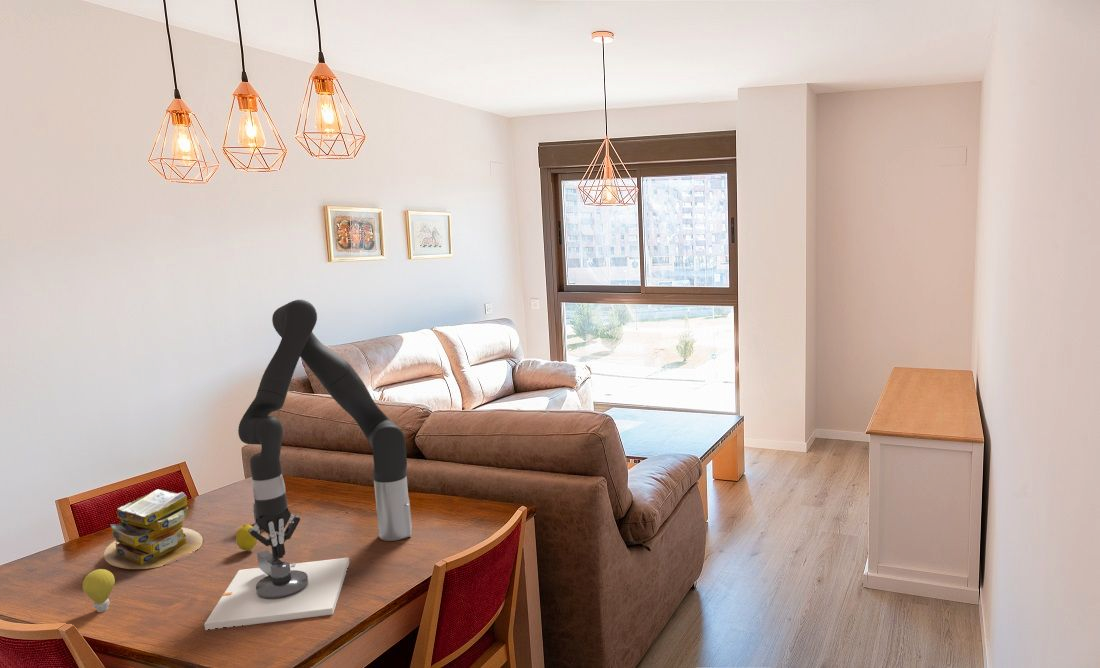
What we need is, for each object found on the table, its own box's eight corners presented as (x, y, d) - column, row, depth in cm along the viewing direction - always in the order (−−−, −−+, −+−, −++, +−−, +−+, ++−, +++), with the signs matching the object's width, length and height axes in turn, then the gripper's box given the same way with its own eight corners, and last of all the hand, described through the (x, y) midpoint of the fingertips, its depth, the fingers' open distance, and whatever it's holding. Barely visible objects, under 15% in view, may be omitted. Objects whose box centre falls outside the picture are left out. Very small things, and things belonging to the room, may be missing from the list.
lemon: (251, 555, 206) (248, 528, 205) (233, 555, 207) (230, 527, 206) (262, 547, 211) (259, 520, 210) (245, 547, 212) (242, 520, 211)
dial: (316, 586, 181) (313, 564, 180) (267, 604, 173) (264, 581, 172) (287, 564, 195) (284, 544, 194) (240, 579, 187) (238, 559, 186)
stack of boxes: (219, 544, 216) (212, 489, 213) (132, 579, 196) (123, 518, 193) (174, 530, 230) (168, 478, 228) (89, 561, 210) (80, 504, 208)
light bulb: (95, 604, 182) (89, 565, 181) (123, 601, 183) (118, 563, 182) (80, 617, 176) (74, 578, 174) (110, 615, 176) (104, 575, 175)
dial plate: (349, 562, 197) (348, 556, 197) (333, 614, 170) (332, 607, 169) (239, 575, 194) (239, 569, 193) (205, 630, 166) (204, 623, 166)
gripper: (291, 482, 194) (300, 544, 196) (238, 496, 186) (248, 561, 189) (300, 489, 188) (309, 553, 190) (246, 504, 180) (256, 571, 183)
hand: (279, 557), depth 190 cm, fingers closed
